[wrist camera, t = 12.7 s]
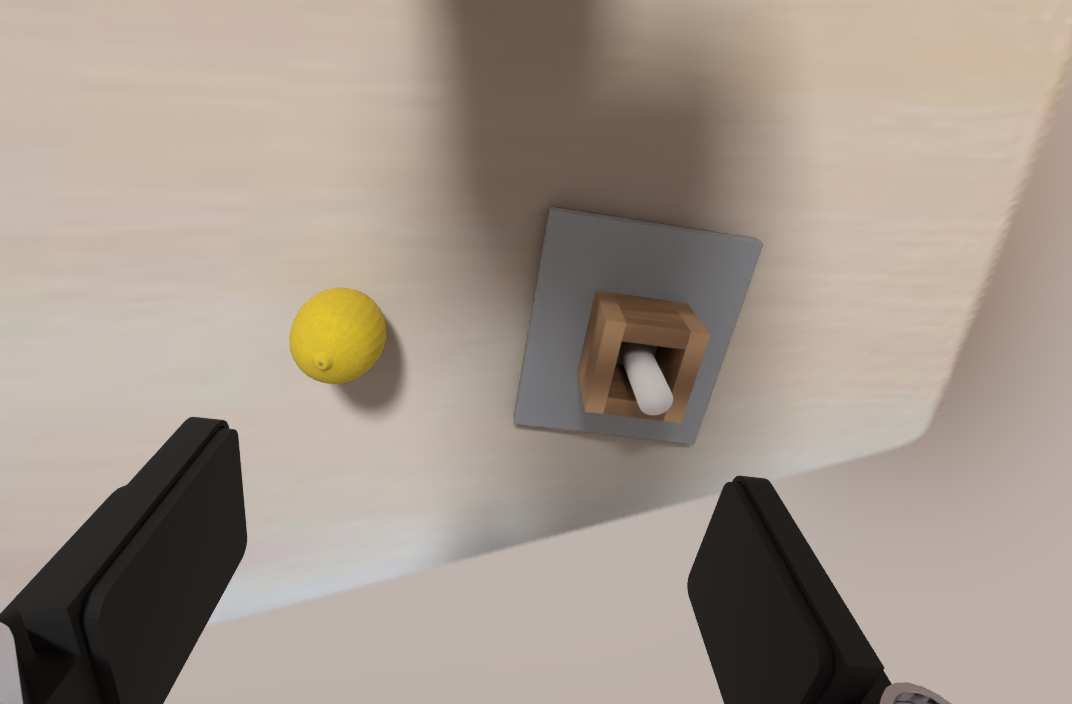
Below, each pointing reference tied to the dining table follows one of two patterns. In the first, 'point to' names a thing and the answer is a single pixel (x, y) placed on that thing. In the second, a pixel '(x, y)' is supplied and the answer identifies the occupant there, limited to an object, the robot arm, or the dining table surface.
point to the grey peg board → (639, 270)
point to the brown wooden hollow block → (644, 325)
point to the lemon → (337, 335)
